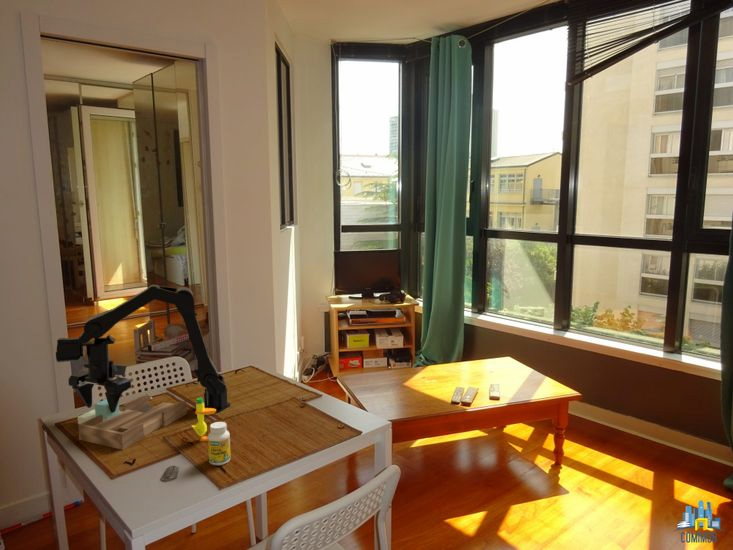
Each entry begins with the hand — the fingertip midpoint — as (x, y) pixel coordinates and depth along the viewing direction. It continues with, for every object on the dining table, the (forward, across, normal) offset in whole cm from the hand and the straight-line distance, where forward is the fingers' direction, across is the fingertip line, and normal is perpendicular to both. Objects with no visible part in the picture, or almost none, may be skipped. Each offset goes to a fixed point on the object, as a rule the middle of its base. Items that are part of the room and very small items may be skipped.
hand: (101, 409), depth 154 cm
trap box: (+4, -12, -2) cm, 13 cm away
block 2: (+4, -40, +17) cm, 43 cm away
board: (+4, 0, 0) cm, 4 cm away
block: (+1, -2, 0) cm, 3 cm away
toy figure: (+4, -36, -1) cm, 36 cm away
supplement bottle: (+4, -47, +7) cm, 47 cm away
